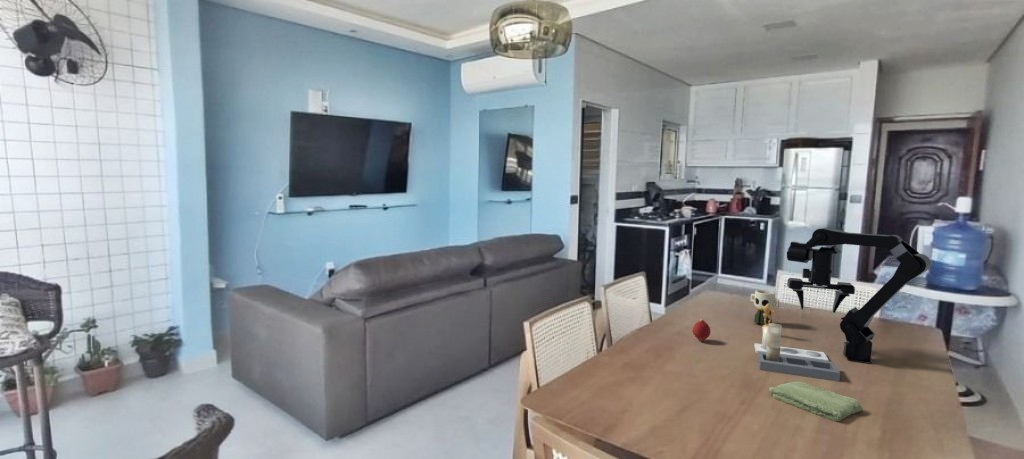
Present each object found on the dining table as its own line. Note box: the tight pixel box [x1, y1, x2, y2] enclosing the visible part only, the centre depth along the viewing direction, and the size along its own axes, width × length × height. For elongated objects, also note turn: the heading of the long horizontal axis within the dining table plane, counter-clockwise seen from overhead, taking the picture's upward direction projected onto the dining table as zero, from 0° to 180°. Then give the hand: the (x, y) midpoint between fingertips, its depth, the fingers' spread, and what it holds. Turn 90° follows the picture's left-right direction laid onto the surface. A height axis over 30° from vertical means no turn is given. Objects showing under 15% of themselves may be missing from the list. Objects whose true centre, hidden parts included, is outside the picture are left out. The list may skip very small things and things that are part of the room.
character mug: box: [750, 289, 780, 326], centre depth 193 cm, size 11×7×13 cm, turn 39°
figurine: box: [754, 304, 780, 333], centre depth 180 cm, size 8×6×12 cm
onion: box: [692, 318, 711, 342], centre depth 172 cm, size 6×6×8 cm
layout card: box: [753, 326, 830, 361], centre depth 161 cm, size 20×8×8 cm, turn 68°
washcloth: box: [768, 381, 863, 422], centre depth 126 cm, size 13×18×3 cm
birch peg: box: [766, 322, 783, 362], centre depth 150 cm, size 4×4×13 cm
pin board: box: [756, 352, 841, 382], centre depth 148 cm, size 20×9×2 cm, turn 68°
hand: (817, 310), depth 166 cm, fingers open, 9 cm apart
